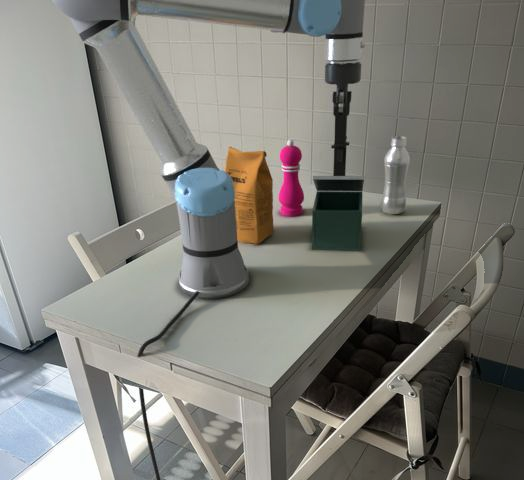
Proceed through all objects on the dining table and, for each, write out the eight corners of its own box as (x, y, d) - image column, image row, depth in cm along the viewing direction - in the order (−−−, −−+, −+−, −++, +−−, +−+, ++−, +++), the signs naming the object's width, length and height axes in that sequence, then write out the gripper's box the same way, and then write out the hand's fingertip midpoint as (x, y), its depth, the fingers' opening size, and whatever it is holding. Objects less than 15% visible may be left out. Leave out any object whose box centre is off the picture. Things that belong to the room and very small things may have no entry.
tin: (359, 250, 128) (362, 211, 123) (311, 249, 130) (312, 210, 124) (360, 228, 140) (362, 191, 134) (316, 227, 142) (316, 191, 136)
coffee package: (242, 225, 145) (237, 141, 133) (279, 234, 139) (277, 147, 126) (218, 237, 139) (210, 150, 126) (256, 247, 132) (251, 156, 120)
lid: (364, 179, 119) (364, 175, 119) (312, 179, 121) (312, 175, 121) (362, 191, 134) (362, 188, 134) (316, 190, 136) (316, 187, 136)
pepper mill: (300, 218, 148) (299, 143, 137) (275, 216, 150) (273, 142, 139) (306, 209, 154) (307, 136, 142) (283, 207, 156) (281, 136, 145)
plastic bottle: (406, 216, 146) (415, 140, 134) (382, 217, 146) (388, 141, 135) (402, 208, 151) (410, 134, 140) (378, 209, 151) (384, 135, 140)
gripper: (361, 64, 104) (355, 184, 117) (361, 57, 115) (356, 168, 128) (323, 66, 105) (321, 184, 118) (326, 58, 116) (324, 168, 129)
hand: (339, 176), depth 123 cm, fingers closed
